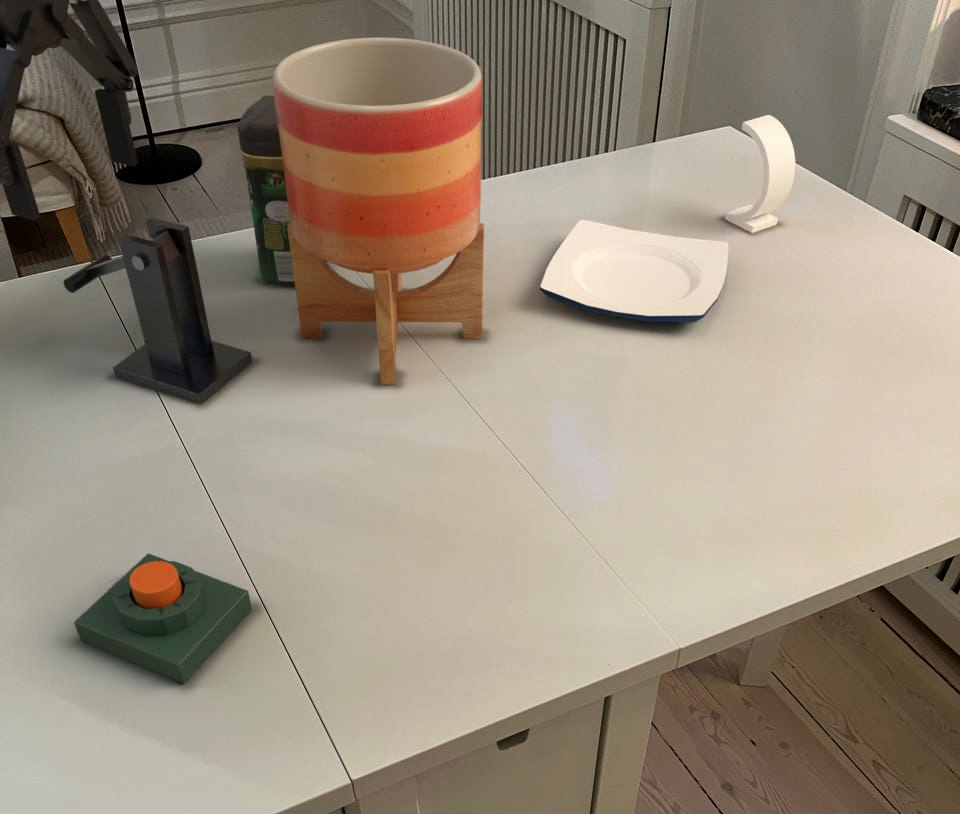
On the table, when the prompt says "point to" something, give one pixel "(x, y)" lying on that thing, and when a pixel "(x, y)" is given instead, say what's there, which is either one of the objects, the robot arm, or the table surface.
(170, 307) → the bracket
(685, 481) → the table surface
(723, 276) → the plate
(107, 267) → the lever
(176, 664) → the control block
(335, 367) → the table surface
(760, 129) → the headphone stand
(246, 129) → the coffee jar
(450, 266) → the planter
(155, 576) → the button
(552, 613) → the table surface
